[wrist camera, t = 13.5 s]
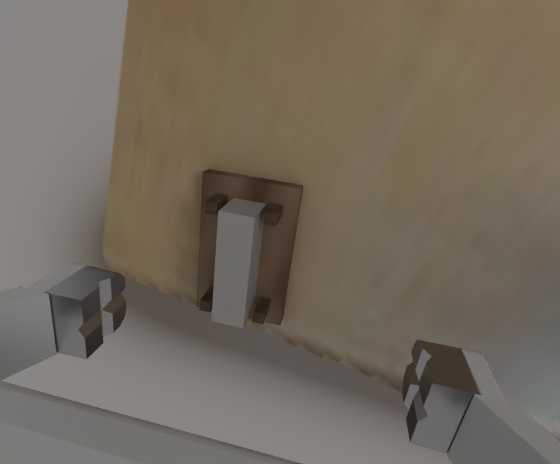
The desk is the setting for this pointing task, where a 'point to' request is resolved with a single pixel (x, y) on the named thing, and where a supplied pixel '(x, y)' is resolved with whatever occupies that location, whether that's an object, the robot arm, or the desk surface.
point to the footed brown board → (275, 238)
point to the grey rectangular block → (237, 261)
